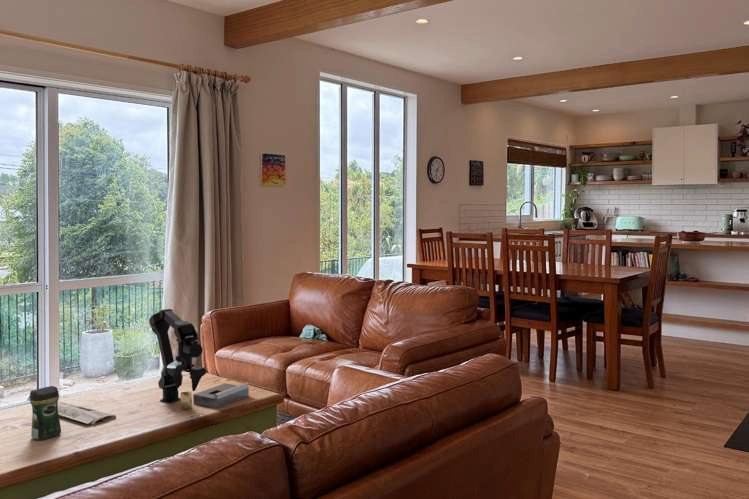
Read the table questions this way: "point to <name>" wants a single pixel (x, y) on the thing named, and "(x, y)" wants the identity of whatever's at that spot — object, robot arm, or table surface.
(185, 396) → the bushing
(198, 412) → the table surface
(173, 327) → the robot arm
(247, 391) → the block
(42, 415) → the coffee jar
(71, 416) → the newspaper
